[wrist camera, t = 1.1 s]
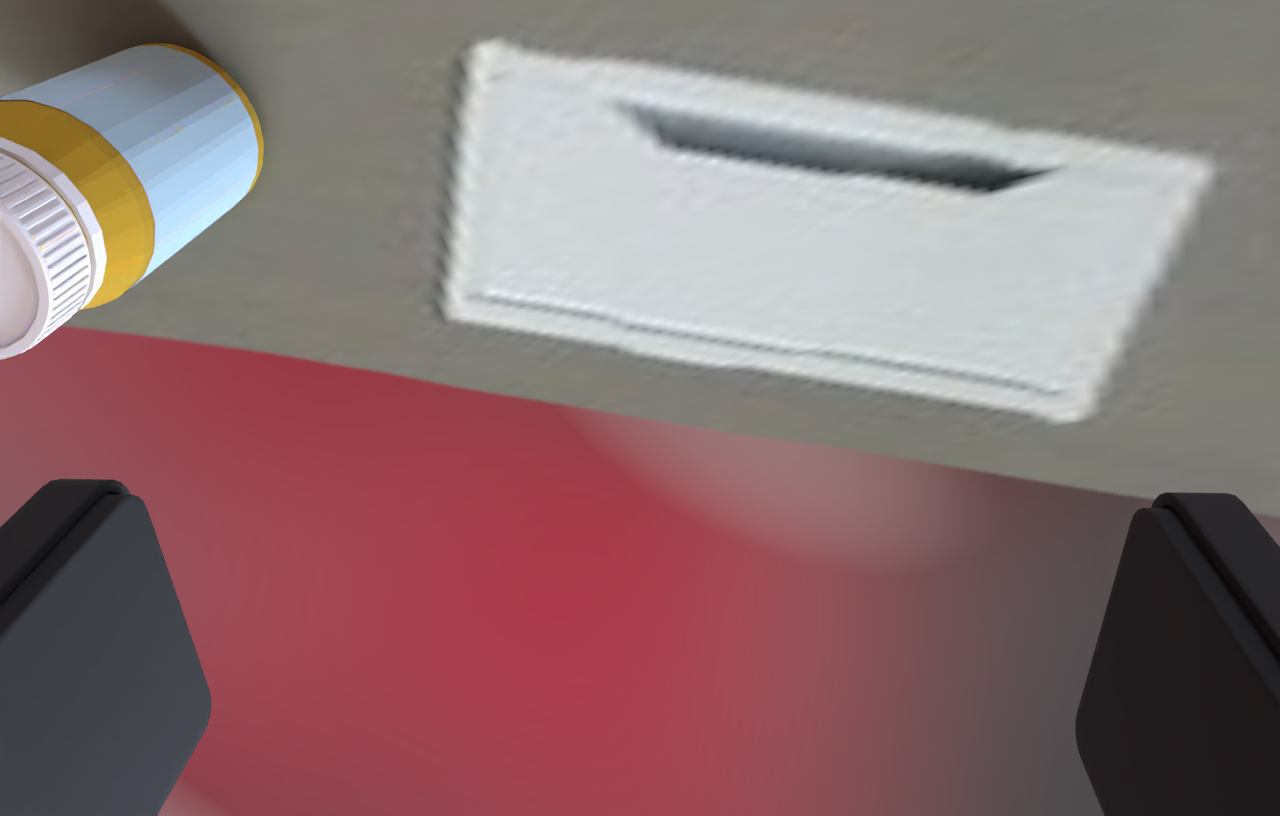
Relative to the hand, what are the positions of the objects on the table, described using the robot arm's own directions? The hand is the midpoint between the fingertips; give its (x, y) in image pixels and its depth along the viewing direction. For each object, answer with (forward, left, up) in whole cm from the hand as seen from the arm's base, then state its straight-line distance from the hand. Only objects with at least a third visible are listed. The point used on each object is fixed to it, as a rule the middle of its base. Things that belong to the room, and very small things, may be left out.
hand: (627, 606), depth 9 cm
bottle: (+6, -21, -33) cm, 39 cm away
